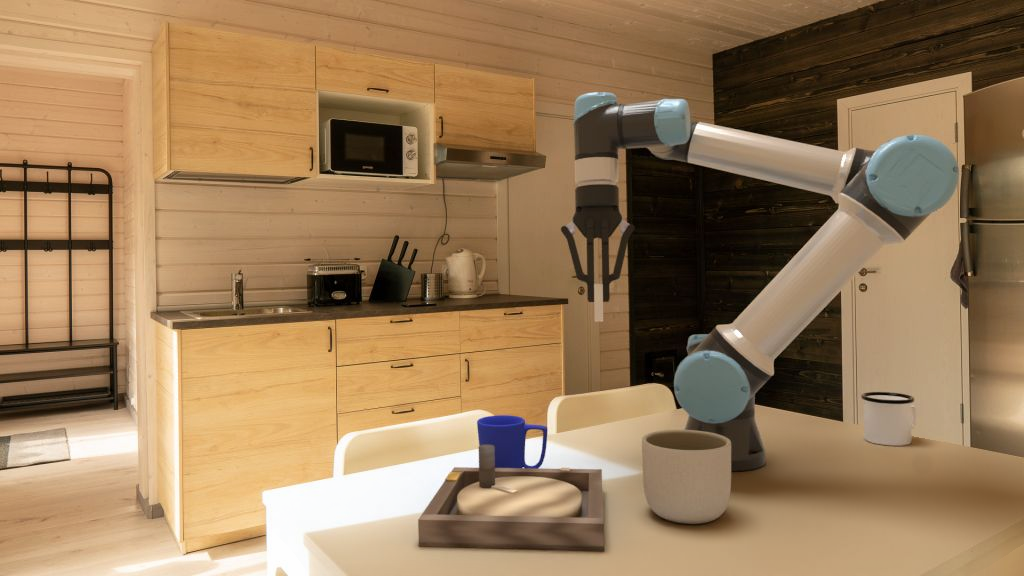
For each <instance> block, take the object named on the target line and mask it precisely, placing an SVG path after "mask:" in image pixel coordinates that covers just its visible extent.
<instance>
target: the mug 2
mask: <svg viewBox="0 0 1024 576" xmlns="http://www.w3.org/2000/svg"><path fill="white" fill-rule="evenodd" d="M860 398H861V399H862V400H863V439H864V440H865V441H867V442H869V443H871V444H874V445H880V446H888V447H903V446H907V445H910V444H911V443H912V429H914V428H915V427H916V424H917V408H916V406H915V405H913V404H912V403H914V402H915V397H914V396H913V395H908V394H905V393H900V392H899V393H898V392H889V391H868V392H864V393H861V395H860Z"/></svg>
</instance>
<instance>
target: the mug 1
mask: <svg viewBox="0 0 1024 576" xmlns="http://www.w3.org/2000/svg"><path fill="white" fill-rule="evenodd" d="M476 424H477V425H476V426H477V436H478V447H479V446H480V445H494V448H495V468H540V467H541V466H542V465H543V464H544V460H545V457H546V451H547V445H548V443H547V442H548V427H547V426H546V425H541V424H530V423H529V424H528V423H526V420H525V418H523V417H521V416H516V415H509V414H505V415H503V414H501V415H500V414H499V415H490V416H484V417H481V418H479V419H477V421H476ZM531 430H539V431H542V447H541V453H540V457H539V460H538V462H537V463H536V464H535V465H528V464H527V463H526V459H525V458H526V457H525V456H526V440H527V439H526V438H527V432H528V431H531Z"/></svg>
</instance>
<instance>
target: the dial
mask: <svg viewBox="0 0 1024 576" xmlns="http://www.w3.org/2000/svg"><path fill="white" fill-rule="evenodd" d="M478 468H479V482H477V483H474V484H471V485H469V486H467V487H465V488H464V489H462V490H461V491H460V492H459V493H458V496H457V509H458V515H479V516H526V517H573V518H580V516H581V514H582V494H581V492H580V490H579V489H578V488H577V487H575V486H573V485H571V484H569V483H566V482H564V481H560V480H556V479H551V478H544V477H532V476H513V477H501V478H495V448H494V445H480V446H479V445H478Z"/></svg>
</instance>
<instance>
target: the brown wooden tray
mask: <svg viewBox="0 0 1024 576" xmlns="http://www.w3.org/2000/svg"><path fill="white" fill-rule="evenodd" d="M602 469H603V468H599V469H598V468H592V469H591V468H570V467H561V468H542V467H541V468H540V467H539V468H524V467H523V468H495V478H501V477H513V476H532V477H544V478H551V479H556V480H560V481H564V482H566V483H569V484H571V485H573V486H575V487H577V488H578V489H579V490H580V492H581V494H582V514H581V516H580V518H573V517H526V516H479V515H458V509H457V496H458V493H459V492H460V491H461V490H462V489H464V488H465V487H467V486H469V485H471V484H474V483H477V482H479V467H465V466H463V467H460V466H459V467H457V466H456V467H455V466H454V467H453V468H452V470H451V471H449V473H448V475H446V477H445V478H444V481H443V482H442V484H441V486H440V487H439V489H438V490H437V492H436V493H435V494H434V496H433V497H432V499H431V500H430V501H429V503H428V505H427V506H426V508H425V509H424V510H423V511H422V513H421V515H420V516H419V517H418V520H417V525H418V526H417V527H418V530H417V531H418V547H434V548H435V547H436V548H437V547H438V548H440V547H441V548H468V549H469V548H471V549H472V548H476V549H477V548H478V549H506V550H508V549H509V550H510V549H511V550H512V549H514V550H515V549H516V550H542V551H543V550H547V551H548V550H551V551H552V550H553V551H555V550H556V551H584V552H585V551H587V552H588V551H589V552H591V551H592V552H605V520H604V519H605V518H604V517H605V516H604V514H605V513H604V497H603V496H604V491H603V489H604V488H603V470H602Z"/></svg>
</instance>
